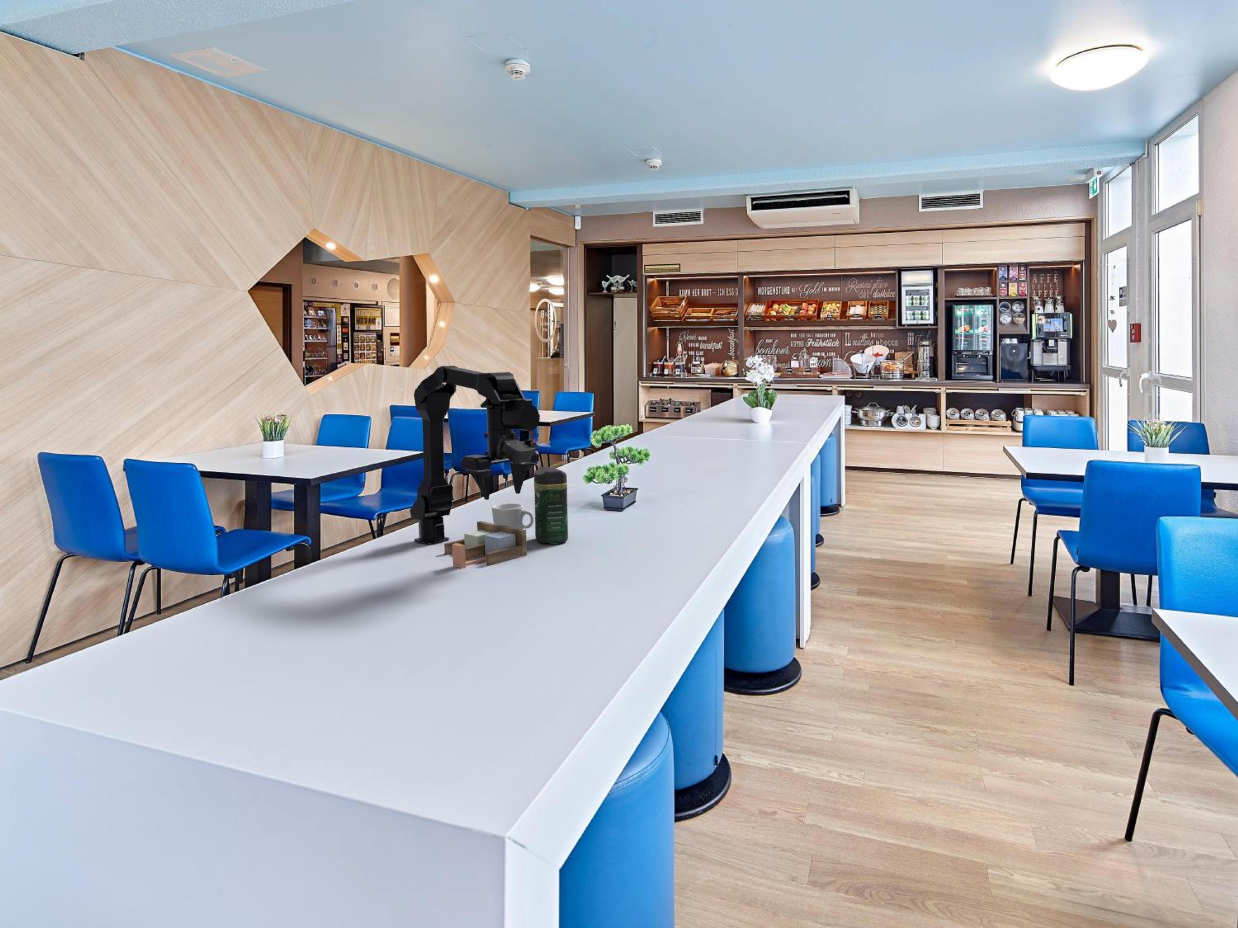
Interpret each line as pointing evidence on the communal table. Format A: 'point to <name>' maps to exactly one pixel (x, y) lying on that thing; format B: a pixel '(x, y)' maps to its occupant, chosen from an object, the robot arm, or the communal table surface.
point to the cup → (511, 515)
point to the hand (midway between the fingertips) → (502, 496)
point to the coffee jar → (550, 505)
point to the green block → (475, 538)
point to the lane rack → (499, 554)
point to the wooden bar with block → (491, 544)
